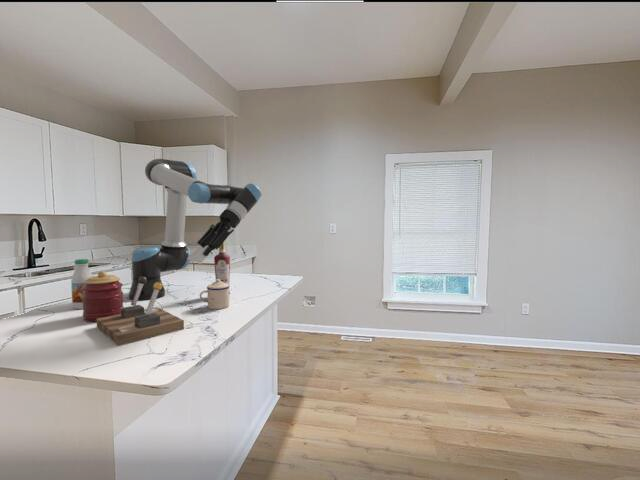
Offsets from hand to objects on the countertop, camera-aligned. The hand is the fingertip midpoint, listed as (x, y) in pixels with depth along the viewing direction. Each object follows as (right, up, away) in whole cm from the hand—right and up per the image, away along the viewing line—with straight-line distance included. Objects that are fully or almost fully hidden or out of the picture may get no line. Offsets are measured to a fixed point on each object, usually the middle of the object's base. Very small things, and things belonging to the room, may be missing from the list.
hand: (193, 261), depth 119 cm
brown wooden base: (-16, -23, -5) cm, 28 cm away
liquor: (-1, -19, +39) cm, 44 cm away
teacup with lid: (+1, -21, +21) cm, 29 cm away
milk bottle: (-53, -21, +19) cm, 60 cm away
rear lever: (-21, -16, -1) cm, 27 cm away
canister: (-37, -22, +7) cm, 43 cm away
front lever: (-11, -17, -11) cm, 23 cm away
